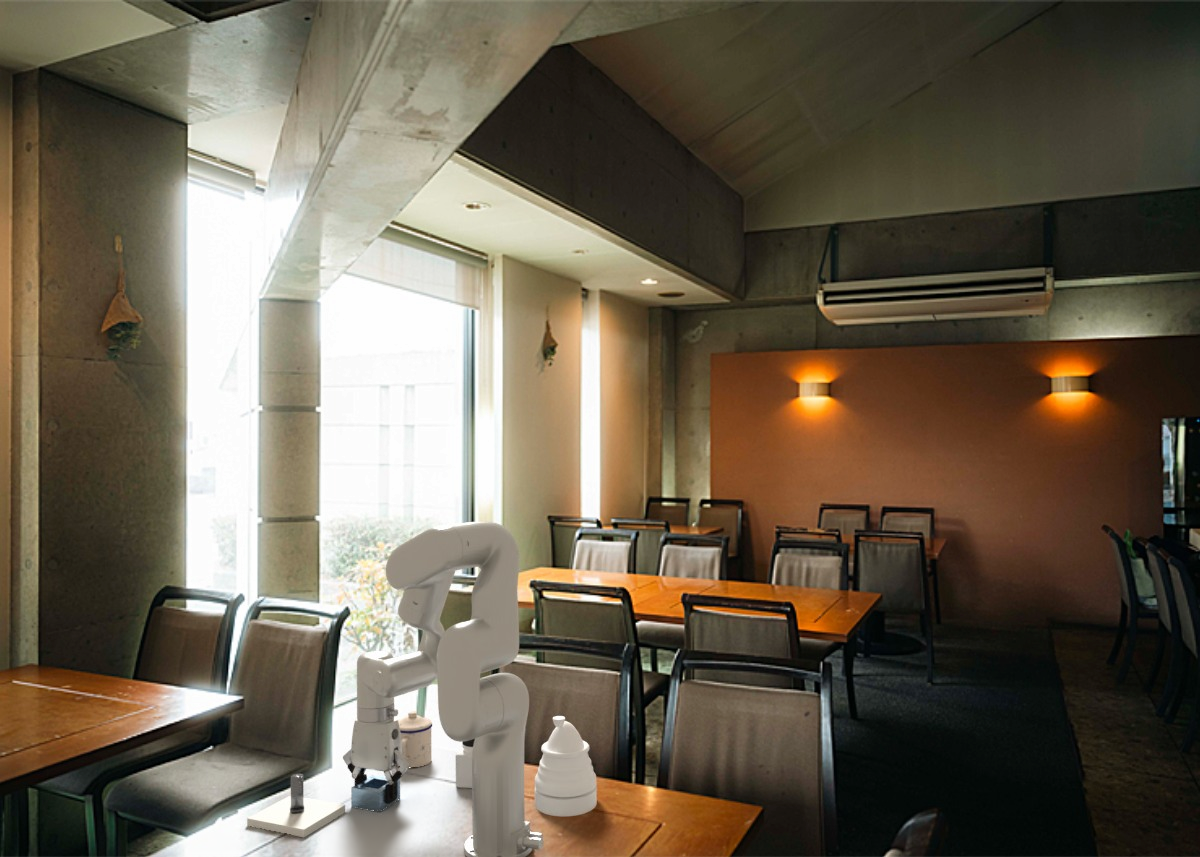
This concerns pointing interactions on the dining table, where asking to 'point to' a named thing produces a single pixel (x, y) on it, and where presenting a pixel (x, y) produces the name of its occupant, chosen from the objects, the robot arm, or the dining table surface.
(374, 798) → the collar
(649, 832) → the dining table surface
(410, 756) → the teacup with lid
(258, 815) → the base plate
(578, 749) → the honey pot
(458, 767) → the medicine bottle
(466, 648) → the robot arm
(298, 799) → the steel post
